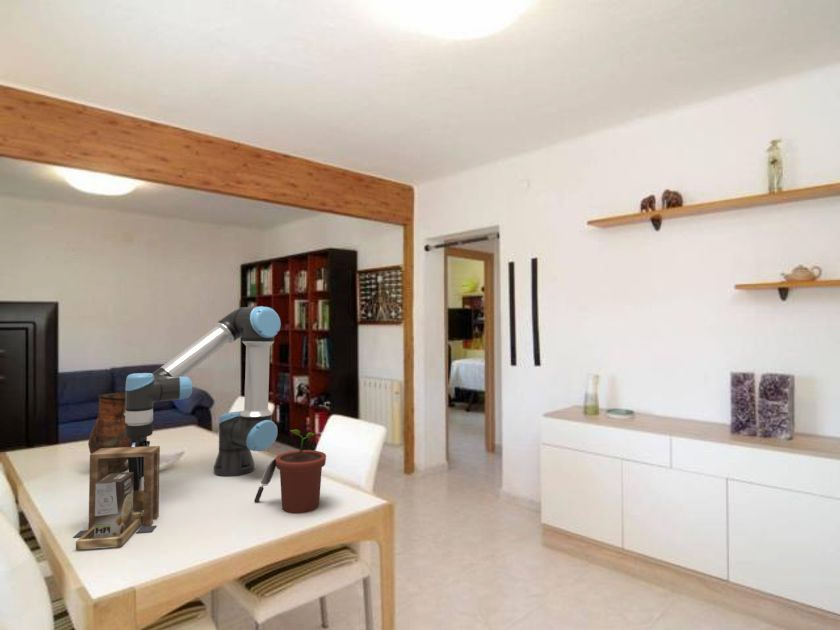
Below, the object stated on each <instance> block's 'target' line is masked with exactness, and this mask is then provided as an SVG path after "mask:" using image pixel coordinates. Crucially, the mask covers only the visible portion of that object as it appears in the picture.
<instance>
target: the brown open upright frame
mask: <svg viewBox="0 0 840 630" xmlns="http://www.w3.org/2000/svg"><path fill="white" fill-rule="evenodd" d="M160 450H161V447H160V445H149V446H148V447H122V448H101V449H99V450H97V451H95V452H94V453H92V454H91V453H90V454H89V481H88V482H89V486H88V487H89V488H88V489H89V492H88V494H89V495H88V530H89V529H91V528H92V527H93V526H94V525H95V488H96V484H95V483H96V482H98V481H99V480H101V479H102V478H104V477H106V476H107V475H109V474H108V458H123V457H144V486H143V490H144V492H143V511H142V512H143V523H142V526H153V524H154V520H157V519H158V518H159V517H160V513H159V512H160V464H161V463H160V458H161V455H160V454H161V453H160V452H161V451H160Z"/></svg>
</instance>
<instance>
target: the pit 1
mask: <svg viewBox="0 0 840 630" xmlns="http://www.w3.org/2000/svg"><path fill="white" fill-rule="evenodd" d="M88 530H89V529H84V530H80V531H78V532H77V533H76V534H75V535H74V536H72V538H73V539H79V538H80V537H82V536H83V535H84V534H85V533H86V532H87V531H88Z"/></svg>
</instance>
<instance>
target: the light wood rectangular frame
mask: <svg viewBox="0 0 840 630" xmlns="http://www.w3.org/2000/svg"><path fill="white" fill-rule="evenodd" d="M143 492H144V489H143V490H133V523H132V524H131V525H130V526H129V527H128V528H127V529H126V530H125V531H124V532H123V533H122V534H121V535H120V536H119V537H110V538H96V539H94V527H95V525H94V526H93V527H92V528H91V529H89V528H88V529H87V530H88V531H87V532H86V533H85V534H84V535H83V536H82V537H80V538H77V540H76V541H75V550H85V549H86V550H87V549H96V548H97V549H98V548H99V549H100V548H110V547H111V548H112V547H113V548H115V547H122V546H123V545H124V544H125V543H126V542H127V541H128V540H129V538H130V537H131V536H132V535H133V534H134V533H135V532H136V531H137V529H138V528H139V527H141V526H142V525H143ZM140 511H141V512H140Z"/></svg>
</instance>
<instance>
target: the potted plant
mask: <svg viewBox="0 0 840 630" xmlns="http://www.w3.org/2000/svg"><path fill="white" fill-rule="evenodd" d="M289 431H290V433H292V434H294V435H296V436H298V437H300V438H301V444H300V450H293V451H288V452H287V451H286V452H283V453H281V454H278V455H277V456H275V457H274V458H273V459H272V460H271V461H270V462H269V463H268V464H267V466H266V467H265V470H264V472H263V475H262V477H261V480H260V484H261V486H259V487H258V489H257V492H256V494H255V498H254V503H259V502H260V499H261V497H262V494H263V492H264V487H265V486H268V485H269V483H270V482H271V480H272V478H273V475H274V472H275V470H276V469H278V471H279V478H280V496H281V497H280V499H281V500H280V501H281V510H282V511H283V512H284V513H287V514H299V515H300V514H306V513H311V512H313V511H315V510H317V509H318V508H319V506H320V498H321V486H322V485H321V483H322V472H323V471H322V470H323V469H322V468H324V467H325V465H326V462H327V461H326V460H327V454H326V453H324V452H322V451H319V450H312V449H311V450H310V449H303V445H304V444H303V443H304V440H305V439H308V438H311V437H313V436H315V435H316V433H313V432H308V433H307V434H306V435H305V437H303V435H301V434H300V433H301V431H300V430H299V429H292V430H290V429H289Z"/></svg>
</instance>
